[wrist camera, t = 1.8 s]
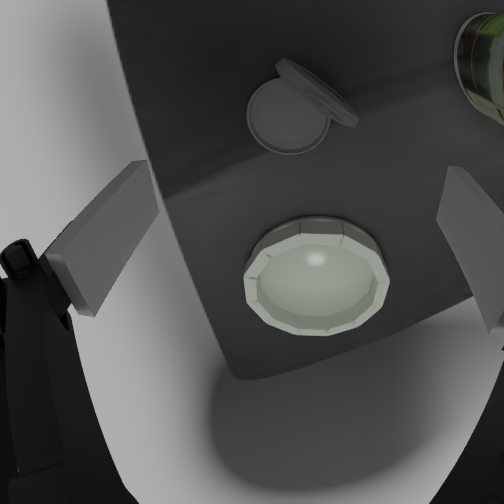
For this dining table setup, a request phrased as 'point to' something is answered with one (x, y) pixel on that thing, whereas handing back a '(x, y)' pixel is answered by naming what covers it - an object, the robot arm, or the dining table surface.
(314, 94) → the pocket watch
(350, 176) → the dining table surface
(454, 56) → the coffee can
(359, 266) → the dish
